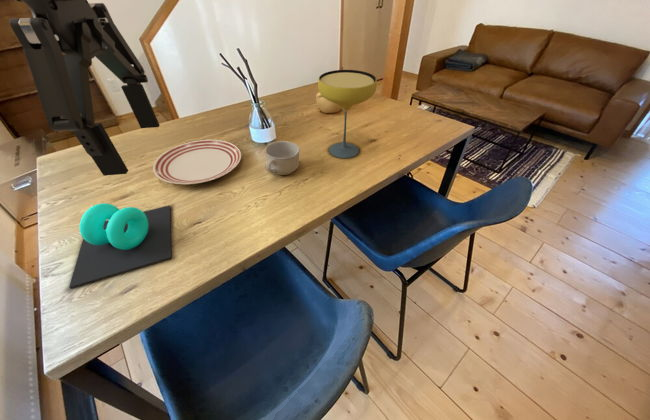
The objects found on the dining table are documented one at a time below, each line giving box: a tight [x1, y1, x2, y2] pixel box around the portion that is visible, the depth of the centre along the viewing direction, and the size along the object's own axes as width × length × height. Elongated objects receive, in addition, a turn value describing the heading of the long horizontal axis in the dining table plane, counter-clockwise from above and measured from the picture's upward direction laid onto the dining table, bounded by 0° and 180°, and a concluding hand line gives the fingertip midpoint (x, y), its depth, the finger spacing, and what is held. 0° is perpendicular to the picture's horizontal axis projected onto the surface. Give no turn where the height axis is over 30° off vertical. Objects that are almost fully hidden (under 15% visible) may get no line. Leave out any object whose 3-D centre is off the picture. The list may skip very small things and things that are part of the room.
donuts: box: [78, 202, 148, 250], centre depth 65 cm, size 10×10×10 cm
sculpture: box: [315, 91, 342, 114], centre depth 124 cm, size 11×12×11 cm
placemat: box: [68, 205, 172, 289], centre depth 68 cm, size 20×20×1 cm
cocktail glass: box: [317, 69, 378, 159], centre depth 92 cm, size 18×18×25 cm
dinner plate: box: [152, 139, 242, 185], centre depth 92 cm, size 28×27×3 cm
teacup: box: [264, 140, 300, 176], centre depth 88 cm, size 14×11×8 cm
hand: (135, 147), depth 40 cm, fingers open, 13 cm apart
